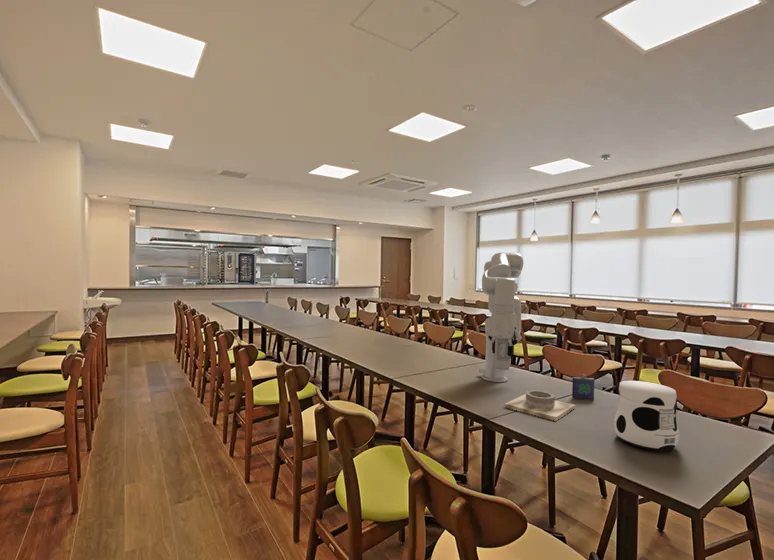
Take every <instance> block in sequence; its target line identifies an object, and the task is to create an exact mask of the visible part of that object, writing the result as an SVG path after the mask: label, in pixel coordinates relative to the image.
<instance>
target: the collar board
mask: <svg viewBox="0 0 774 560" xmlns="http://www.w3.org/2000/svg"><path fill="white" fill-rule="evenodd" d="M504 408H505V409H508V408H509V410H512V409H513V411H516V410H517V412H520V411H521V412H520V413H523V412H525V413H524V414H527V413H529V414H528V415H531V414H533V415H532V416H534V415H536V417H538V416H539V418H542V417H543V419H546V420H549V419H550V420H549V421H553V420H554V421H553V422H557V421H559V420H560V419H561V417H562V418H563V417H564V415H565V416H566V415H568V414H569V413H571V412H572V411H573V409H574V408H576V405H575V404H573V403H568V402H565V401H564V402H563V401H560V400H556V397H555V395H554V393H553V394H552V393H550V392H548V391H544V390H536V389H535V390H533V389H532V390H527V391H526V392H525V394H522V395H520V396H518V397H516V398H513V399H512V400H509V401H508V402H505V403H504ZM571 410H572V411H571ZM574 410H575V409H574ZM570 411H571V412H570ZM567 413H568V414H567ZM558 419H559V420H558Z"/></svg>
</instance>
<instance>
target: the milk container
mask: <svg viewBox="0 0 774 560" xmlns="http://www.w3.org/2000/svg"><path fill="white" fill-rule="evenodd" d="M677 400H678V398H677V391H676V389H674V388H672V387H671V386H666V385H663V384H658V383H655V382H649V381H648V382H647V381H641V380H622V381H620V382H619V386H618V395H617V411H616V413H615V416H614V419H613V425H614V426H613V427H614V432H615V435H617V438H619V439H620V440H622V441H624V442H625V443H627V444H629V445H633V446H634V447H637V448H642V449H646V450H652V451H662V452H663V451H669V450H673V449H676V447H677V446H678V443H679V440H680V430H679V427H678V422H677V411H678V409H677V408H678V405H677V402H678V401H677Z"/></svg>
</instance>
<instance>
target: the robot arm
mask: <svg viewBox="0 0 774 560" xmlns="http://www.w3.org/2000/svg"><path fill="white" fill-rule="evenodd" d="M523 267H524V258H523V256H522V254H520V253H518V252H497V253H494V254H493V255H492V257H491V259H490V260H489V261H487V262H485V263H484V267H483V271H484V272H483V274H482V277H481V290H482V292H483V293H484V294H485V295H488V302H487V303H488V311H489V313H491V316H490V317H487V318H486V319H485V322H484V328H485V333H484V334H485V342H486V343H485V365H484V366H485V368H483V367H479V369H478V373H481V374H482V375H481V378H482V379H483V380H485V381H487V382H492V383H505V382H507V381H508V377H507V376H506V375H505V374H506V373H505V372H506V370H499V369H496V367H495V366H494V362H495V337H497V335H502V336H503V338H505V339H508V342H509V346H508V356H510V357H511V356H514V353H515V346H516V344H518V343H519V342H520V341H521V340H522V339H523V337H522V335H521V332H522V302H521V299H520V298H519V297H518V296H517V295H516V293H517V292H518V287H519V286H518V281H517V280H516V279H517V278H519V277H520V275H521V273H522V271H523ZM515 295H516V296H515Z"/></svg>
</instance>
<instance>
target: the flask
mask: <svg viewBox="0 0 774 560" xmlns="http://www.w3.org/2000/svg"><path fill="white" fill-rule="evenodd" d="M571 384H572V390H571V391H572V393H571V397H572V399H573V398H575V399H574V400H580V399H594V400H595V378H593V377H587V375H586V374H585V373H583V374H582V376H575V377H574V376H573V377H572V383H571Z"/></svg>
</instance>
